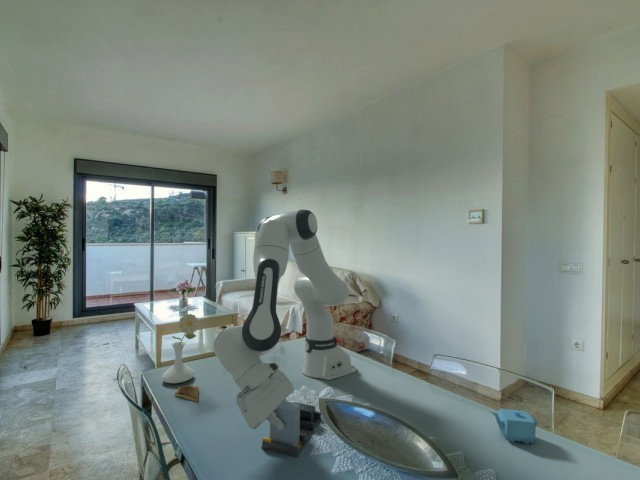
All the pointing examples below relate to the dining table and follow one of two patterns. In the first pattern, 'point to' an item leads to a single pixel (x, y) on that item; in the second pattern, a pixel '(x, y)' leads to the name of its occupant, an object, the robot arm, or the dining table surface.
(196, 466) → the dining table surface
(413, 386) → the dining table surface
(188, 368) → the flower in vase
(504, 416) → the teapot
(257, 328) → the robot arm
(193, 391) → the shard
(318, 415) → the rack
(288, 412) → the blue-grey rectangular block
